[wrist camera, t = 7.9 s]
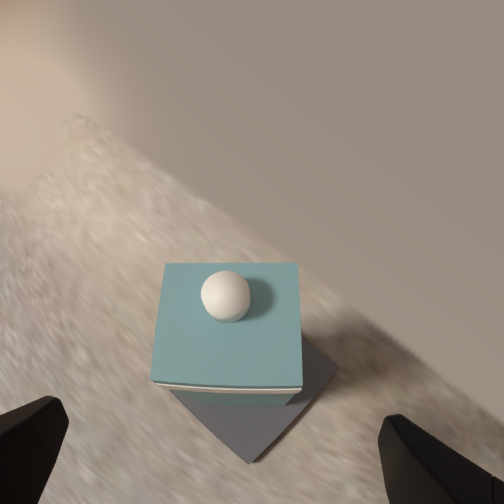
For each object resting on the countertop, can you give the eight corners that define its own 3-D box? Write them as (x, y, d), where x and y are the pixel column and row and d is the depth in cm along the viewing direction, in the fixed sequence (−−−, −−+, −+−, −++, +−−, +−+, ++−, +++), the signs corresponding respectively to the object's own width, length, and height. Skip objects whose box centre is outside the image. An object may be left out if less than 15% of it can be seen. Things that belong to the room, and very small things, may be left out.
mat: (338, 367, 20) (339, 366, 20) (249, 464, 17) (248, 464, 16) (243, 291, 24) (243, 288, 23) (156, 374, 20) (154, 373, 20)
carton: (284, 406, 19) (307, 383, 9) (206, 405, 19) (139, 377, 9) (283, 341, 21) (300, 249, 11) (210, 341, 21) (158, 251, 11)
